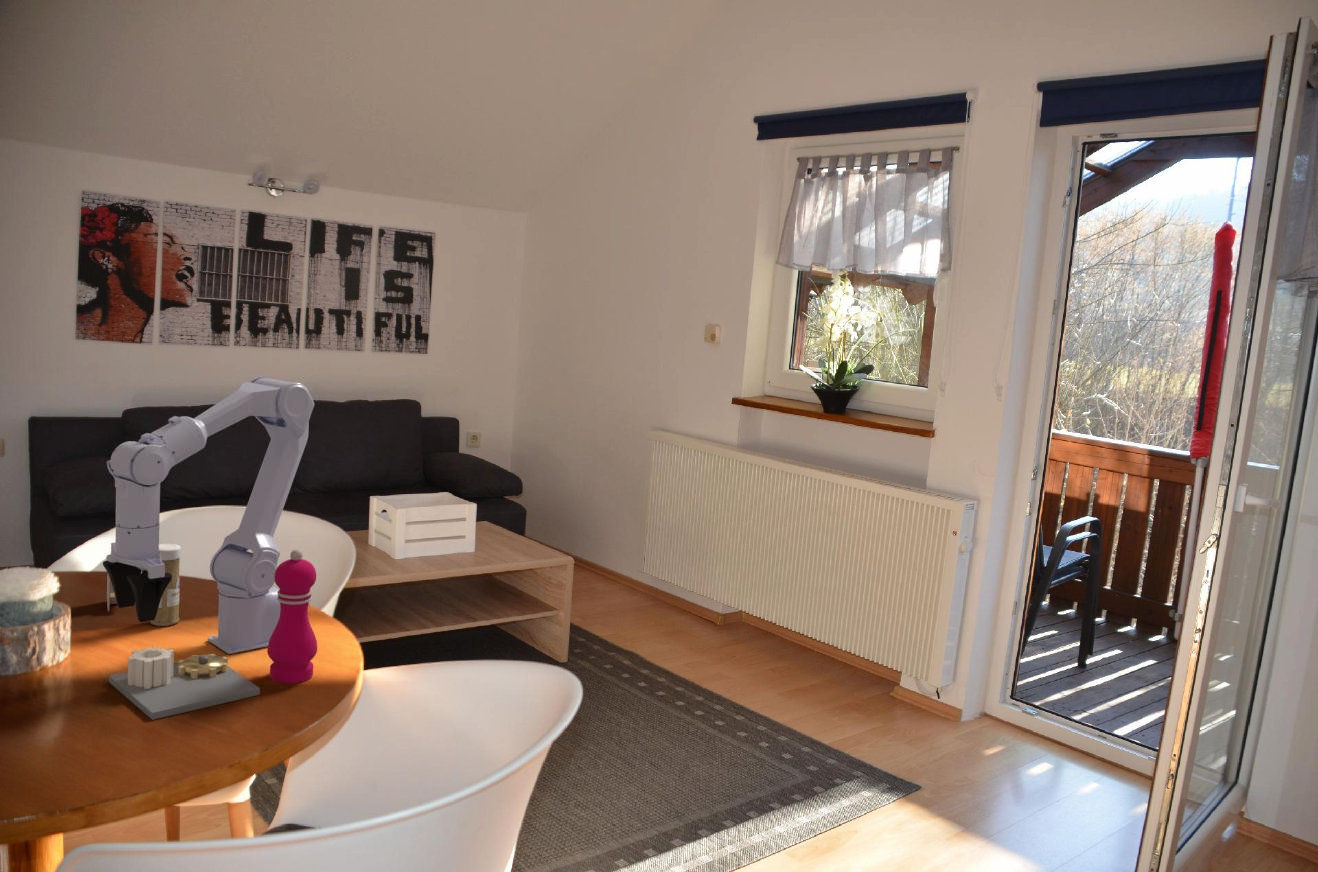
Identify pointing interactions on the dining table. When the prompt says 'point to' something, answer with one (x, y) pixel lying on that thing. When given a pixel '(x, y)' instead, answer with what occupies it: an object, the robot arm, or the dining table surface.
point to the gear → (150, 667)
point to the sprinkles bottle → (169, 587)
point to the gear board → (189, 687)
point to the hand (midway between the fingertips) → (136, 613)
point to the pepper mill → (293, 622)
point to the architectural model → (110, 592)
